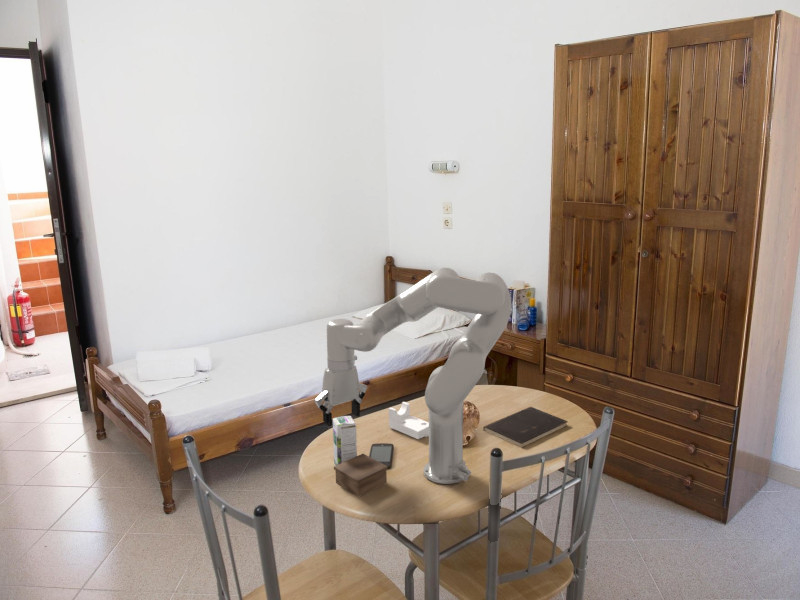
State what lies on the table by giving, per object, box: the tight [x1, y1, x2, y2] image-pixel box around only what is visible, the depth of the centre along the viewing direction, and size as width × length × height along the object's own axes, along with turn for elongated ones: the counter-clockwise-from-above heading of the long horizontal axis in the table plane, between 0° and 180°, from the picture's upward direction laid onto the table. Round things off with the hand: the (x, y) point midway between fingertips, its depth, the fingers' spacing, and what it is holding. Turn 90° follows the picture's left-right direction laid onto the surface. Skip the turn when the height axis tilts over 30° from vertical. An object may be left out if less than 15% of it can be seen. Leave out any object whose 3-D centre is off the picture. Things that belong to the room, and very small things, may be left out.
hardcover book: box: [482, 406, 568, 448], centre depth 206 cm, size 16×23×2 cm
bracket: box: [388, 401, 429, 440], centre depth 204 cm, size 13×7×8 cm, turn 45°
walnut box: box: [333, 453, 389, 497], centre depth 175 cm, size 11×11×5 cm
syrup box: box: [332, 415, 358, 466], centre depth 183 cm, size 6×6×14 cm
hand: (342, 419), depth 180 cm, fingers open, 9 cm apart
